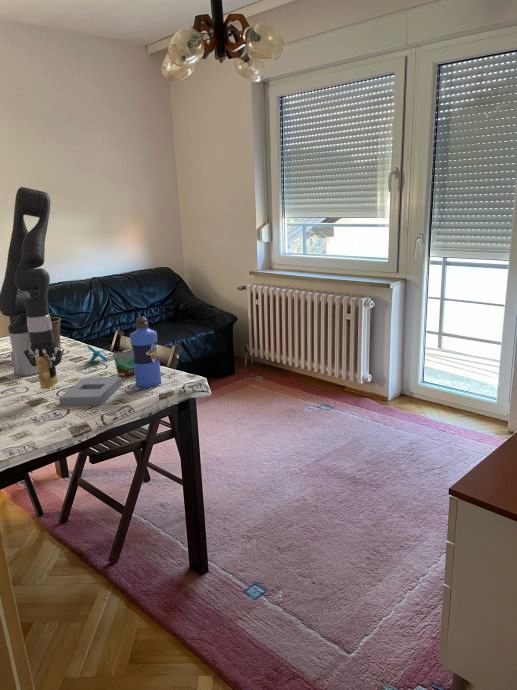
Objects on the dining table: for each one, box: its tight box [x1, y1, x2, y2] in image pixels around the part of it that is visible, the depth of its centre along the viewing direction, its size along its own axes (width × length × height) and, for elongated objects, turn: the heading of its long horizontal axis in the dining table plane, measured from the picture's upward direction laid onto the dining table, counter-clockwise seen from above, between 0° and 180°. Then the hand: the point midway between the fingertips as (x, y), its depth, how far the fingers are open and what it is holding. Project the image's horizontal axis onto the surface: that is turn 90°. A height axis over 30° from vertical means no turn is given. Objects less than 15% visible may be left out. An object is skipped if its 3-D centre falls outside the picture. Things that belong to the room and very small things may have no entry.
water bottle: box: [129, 315, 162, 389], centre depth 186 cm, size 9×9×25 cm
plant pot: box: [50, 316, 62, 358], centre depth 234 cm, size 16×16×16 cm
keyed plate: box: [58, 376, 123, 407], centre depth 181 cm, size 14×20×3 cm
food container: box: [112, 347, 135, 378], centre depth 201 cm, size 12×6×10 cm, turn 148°
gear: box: [86, 345, 109, 364], centre depth 221 cm, size 11×6×10 cm
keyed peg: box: [36, 356, 58, 390], centre depth 180 cm, size 3×6×11 cm, turn 174°
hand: (47, 377), depth 180 cm, fingers closed on keyed peg, 3 cm apart
